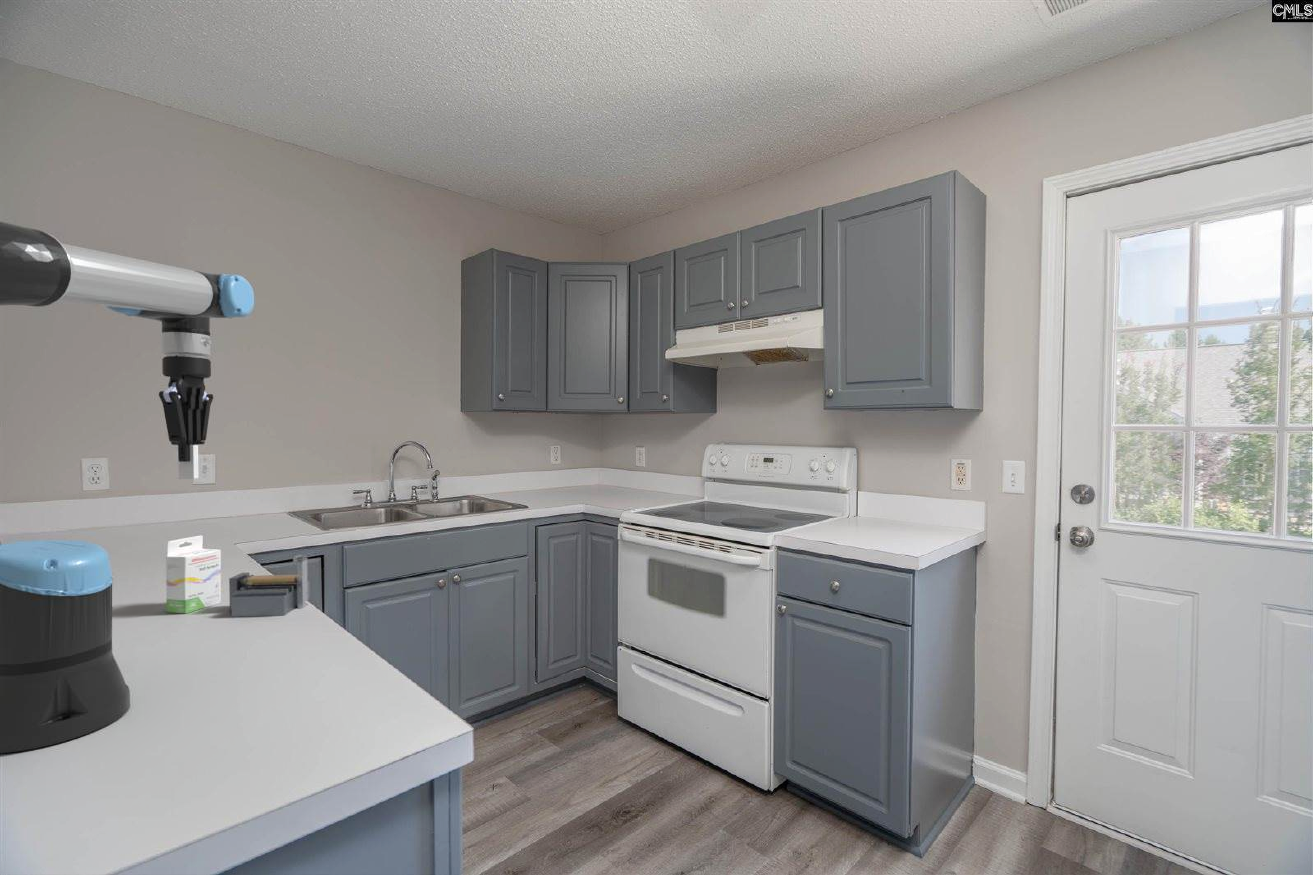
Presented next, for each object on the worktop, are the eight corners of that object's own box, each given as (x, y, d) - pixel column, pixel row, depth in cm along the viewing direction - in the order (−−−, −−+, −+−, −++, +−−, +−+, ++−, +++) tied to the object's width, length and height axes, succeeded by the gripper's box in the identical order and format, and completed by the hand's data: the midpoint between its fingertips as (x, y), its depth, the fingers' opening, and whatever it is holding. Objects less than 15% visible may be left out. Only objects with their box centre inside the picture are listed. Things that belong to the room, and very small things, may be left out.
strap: (293, 583, 130) (293, 578, 130) (239, 585, 129) (238, 579, 129) (301, 578, 134) (301, 573, 134) (249, 580, 133) (249, 574, 133)
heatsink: (292, 615, 127) (291, 562, 126) (219, 617, 125) (219, 564, 125) (317, 598, 139) (316, 550, 138) (251, 600, 137) (250, 551, 137)
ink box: (185, 614, 127) (184, 542, 127) (165, 613, 128) (164, 541, 128) (222, 602, 135) (221, 535, 135) (203, 601, 136) (202, 534, 136)
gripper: (186, 353, 114) (188, 481, 115) (226, 360, 127) (228, 475, 128) (142, 352, 114) (144, 481, 114) (187, 360, 127) (189, 475, 127)
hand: (188, 478), depth 121 cm, fingers closed
